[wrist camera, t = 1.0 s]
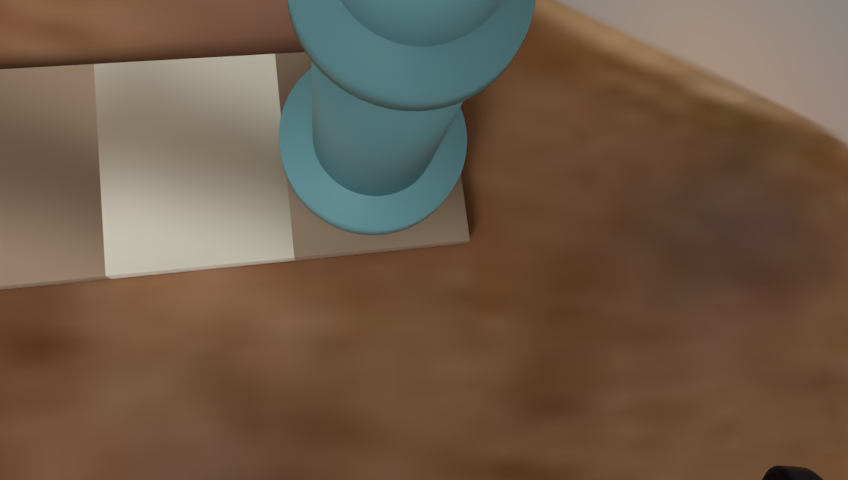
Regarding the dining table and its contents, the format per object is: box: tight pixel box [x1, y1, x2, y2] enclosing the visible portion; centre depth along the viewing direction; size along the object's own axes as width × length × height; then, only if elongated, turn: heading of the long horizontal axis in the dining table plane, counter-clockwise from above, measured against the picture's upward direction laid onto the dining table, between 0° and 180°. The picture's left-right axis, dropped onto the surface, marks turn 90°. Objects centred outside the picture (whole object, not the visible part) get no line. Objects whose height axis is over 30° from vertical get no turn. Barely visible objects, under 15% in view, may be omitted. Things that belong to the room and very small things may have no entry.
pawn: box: [279, 0, 535, 235], centre depth 16 cm, size 5×5×12 cm
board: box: [0, 52, 470, 290], centre depth 21 cm, size 6×20×1 cm, turn 97°
